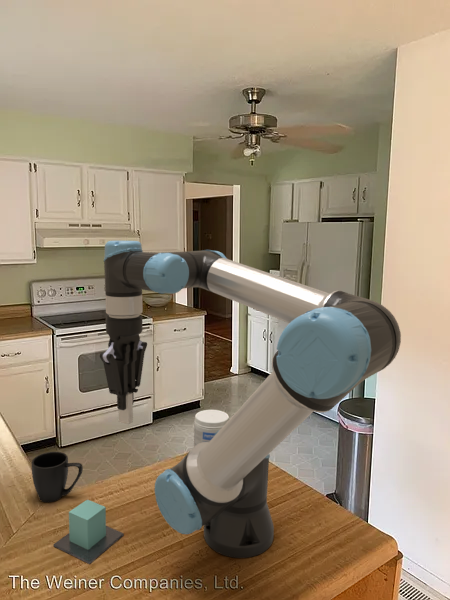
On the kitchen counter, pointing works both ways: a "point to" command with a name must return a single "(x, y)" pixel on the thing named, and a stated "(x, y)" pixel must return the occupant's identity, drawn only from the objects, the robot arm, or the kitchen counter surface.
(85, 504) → the teal rectangular block
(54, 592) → the kitchen counter surface
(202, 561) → the kitchen counter surface
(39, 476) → the mug
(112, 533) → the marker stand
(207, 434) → the supplement tub
